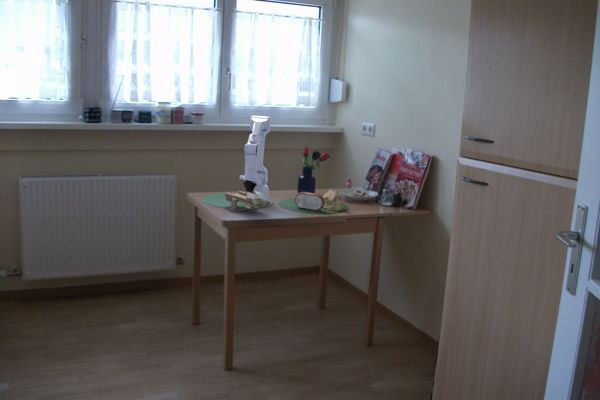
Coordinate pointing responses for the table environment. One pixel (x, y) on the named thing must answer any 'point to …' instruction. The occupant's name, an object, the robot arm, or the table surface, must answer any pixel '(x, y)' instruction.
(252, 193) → the block
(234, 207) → the stand
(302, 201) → the tin
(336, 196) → the ceramic model
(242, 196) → the tan wooden tray
